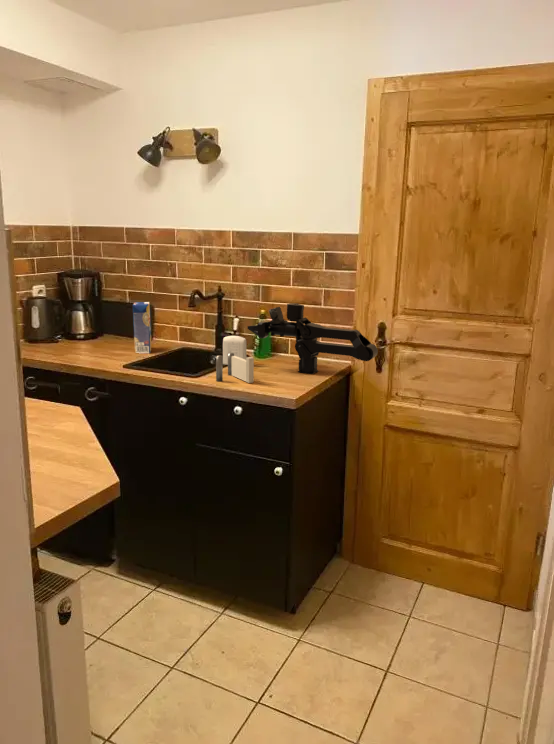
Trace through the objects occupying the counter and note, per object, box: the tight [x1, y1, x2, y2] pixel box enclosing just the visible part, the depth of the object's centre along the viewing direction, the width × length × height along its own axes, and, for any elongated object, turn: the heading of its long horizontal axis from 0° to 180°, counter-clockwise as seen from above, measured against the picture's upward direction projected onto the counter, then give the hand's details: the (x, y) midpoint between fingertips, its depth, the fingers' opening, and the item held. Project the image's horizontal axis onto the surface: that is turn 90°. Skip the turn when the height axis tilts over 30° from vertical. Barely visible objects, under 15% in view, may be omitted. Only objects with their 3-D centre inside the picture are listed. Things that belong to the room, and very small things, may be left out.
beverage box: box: [132, 301, 152, 354], centre depth 261 cm, size 7×11×22 cm, turn 9°
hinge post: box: [227, 353, 234, 376], centre depth 221 cm, size 2×2×8 cm
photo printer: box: [222, 335, 247, 366], centre depth 237 cm, size 10×4×12 cm, turn 73°
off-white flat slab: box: [231, 356, 255, 384], centre depth 214 cm, size 14×2×9 cm, turn 33°
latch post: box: [215, 355, 224, 382], centre depth 211 cm, size 2×2×10 cm
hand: (253, 325), depth 235 cm, fingers open, 9 cm apart
